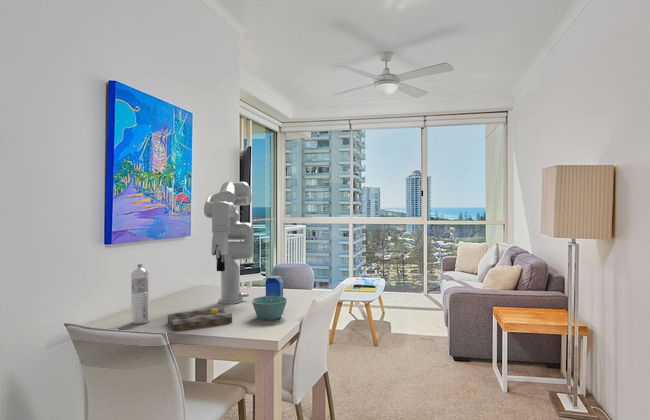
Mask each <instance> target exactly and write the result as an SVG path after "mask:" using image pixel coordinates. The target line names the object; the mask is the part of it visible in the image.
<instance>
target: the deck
mask: <svg viewBox="0 0 650 420" xmlns="http://www.w3.org/2000/svg"><path fill="white" fill-rule="evenodd" d="M215 308H216V309H217V310H218V313H217V314H216V315H211V313H210V310H211V309H212V308H207V309H198V310H188V311H182V312H173V313H167V325H168V326H169V327H170V328H171V330H172V331H173V332H175V331H176V330H177V331H182V329H184V330H189V328H191V329H196V328H195V327H198V328H203V326H205V327H210V326H211V325H212V326H217V325H224V324H225V325H226V324H230V323H233V312H228V313H227V312H226V311H225V309H224V307H223V306H221V307H215Z"/></svg>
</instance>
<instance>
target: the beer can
mask: <svg viewBox="0 0 650 420" xmlns="http://www.w3.org/2000/svg"><path fill="white" fill-rule="evenodd" d="M265 296H281V297H284V280H283V278H282V276H281V275H268V276H267V278H266V280H265Z"/></svg>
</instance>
